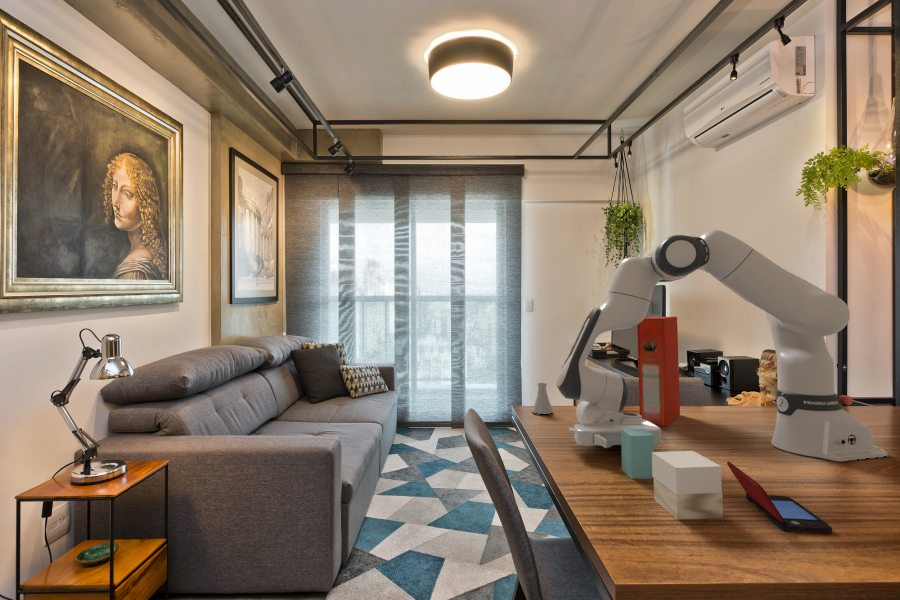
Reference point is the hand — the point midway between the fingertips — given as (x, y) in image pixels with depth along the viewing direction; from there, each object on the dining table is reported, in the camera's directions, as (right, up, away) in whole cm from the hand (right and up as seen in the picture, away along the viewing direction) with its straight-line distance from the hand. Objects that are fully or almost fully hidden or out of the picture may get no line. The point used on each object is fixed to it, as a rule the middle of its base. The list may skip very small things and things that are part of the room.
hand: (628, 444), depth 100 cm
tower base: (+2, -5, -21) cm, 21 cm away
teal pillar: (0, -5, -5) cm, 7 cm away
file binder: (+26, -5, +39) cm, 47 cm away
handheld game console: (+16, -5, -24) cm, 29 cm away
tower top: (+2, -1, -21) cm, 21 cm away
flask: (-9, -6, +49) cm, 51 cm away
